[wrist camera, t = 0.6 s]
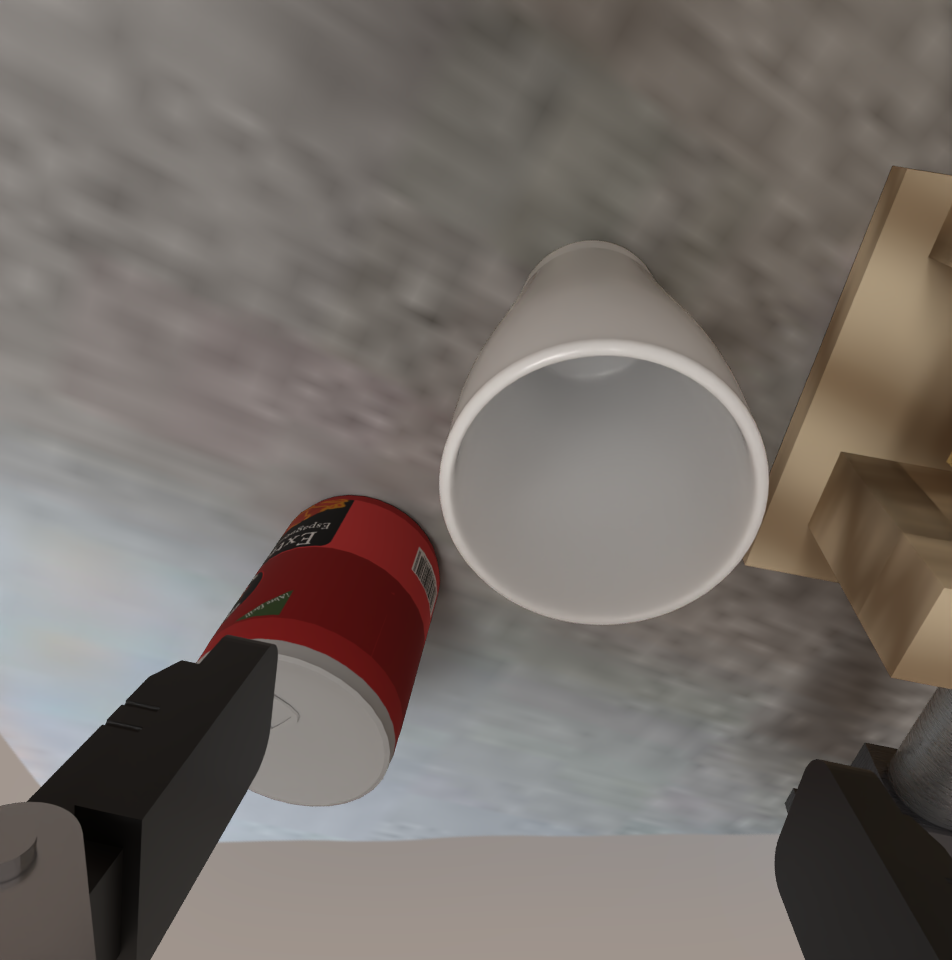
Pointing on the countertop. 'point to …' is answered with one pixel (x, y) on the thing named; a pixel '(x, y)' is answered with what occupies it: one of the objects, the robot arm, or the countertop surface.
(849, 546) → the block
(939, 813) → the shaft
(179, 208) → the countertop surface
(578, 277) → the drinking glass
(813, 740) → the countertop surface
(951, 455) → the block
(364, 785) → the canned food
